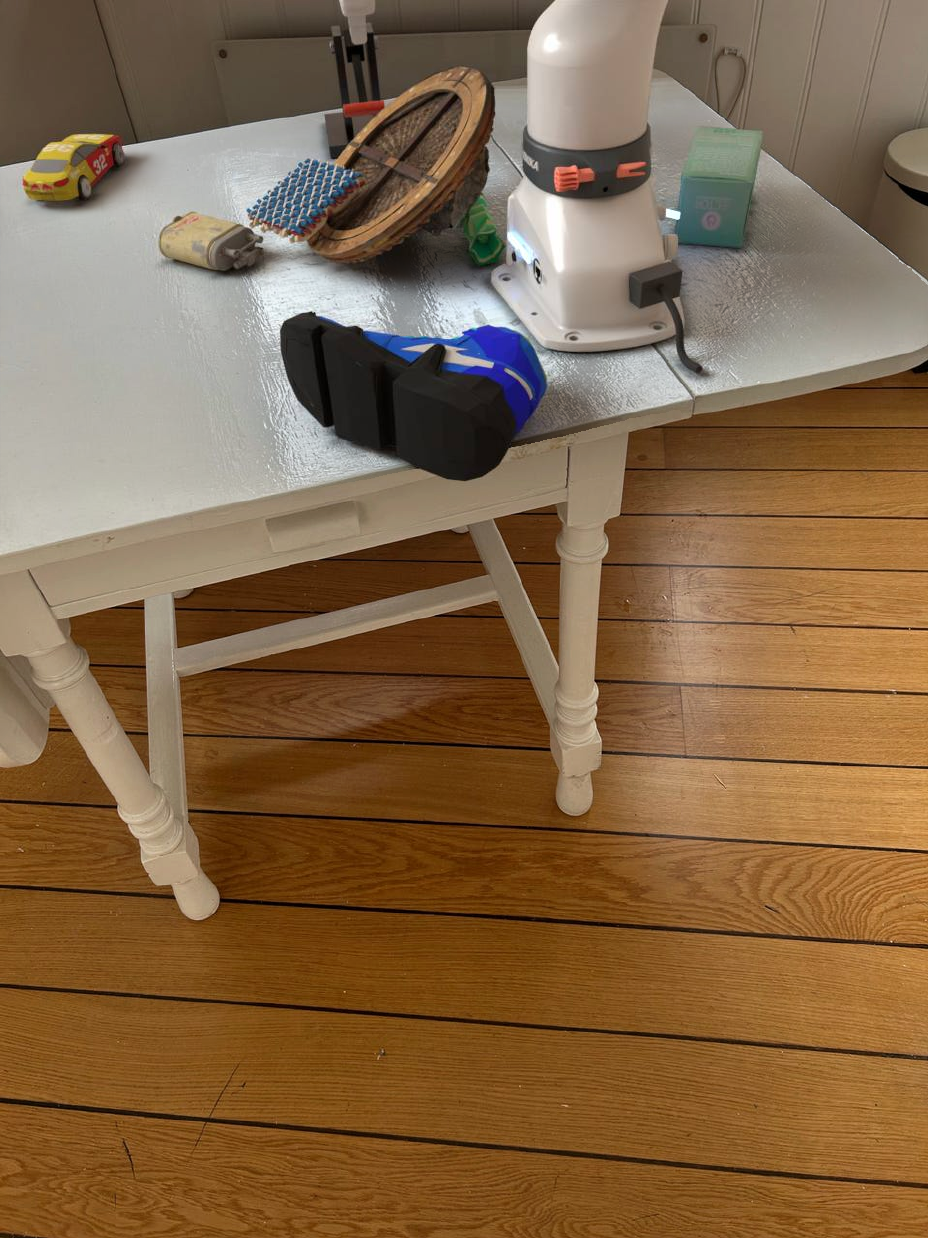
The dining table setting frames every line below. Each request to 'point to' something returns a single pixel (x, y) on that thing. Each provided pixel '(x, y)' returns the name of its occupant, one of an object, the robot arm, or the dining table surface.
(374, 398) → the sneaker
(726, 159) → the box
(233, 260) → the lighter
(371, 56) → the bracket
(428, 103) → the round wicker shield
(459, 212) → the rock
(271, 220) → the woven mat
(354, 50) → the lever
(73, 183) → the toy car
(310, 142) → the dining table surface
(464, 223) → the candy
